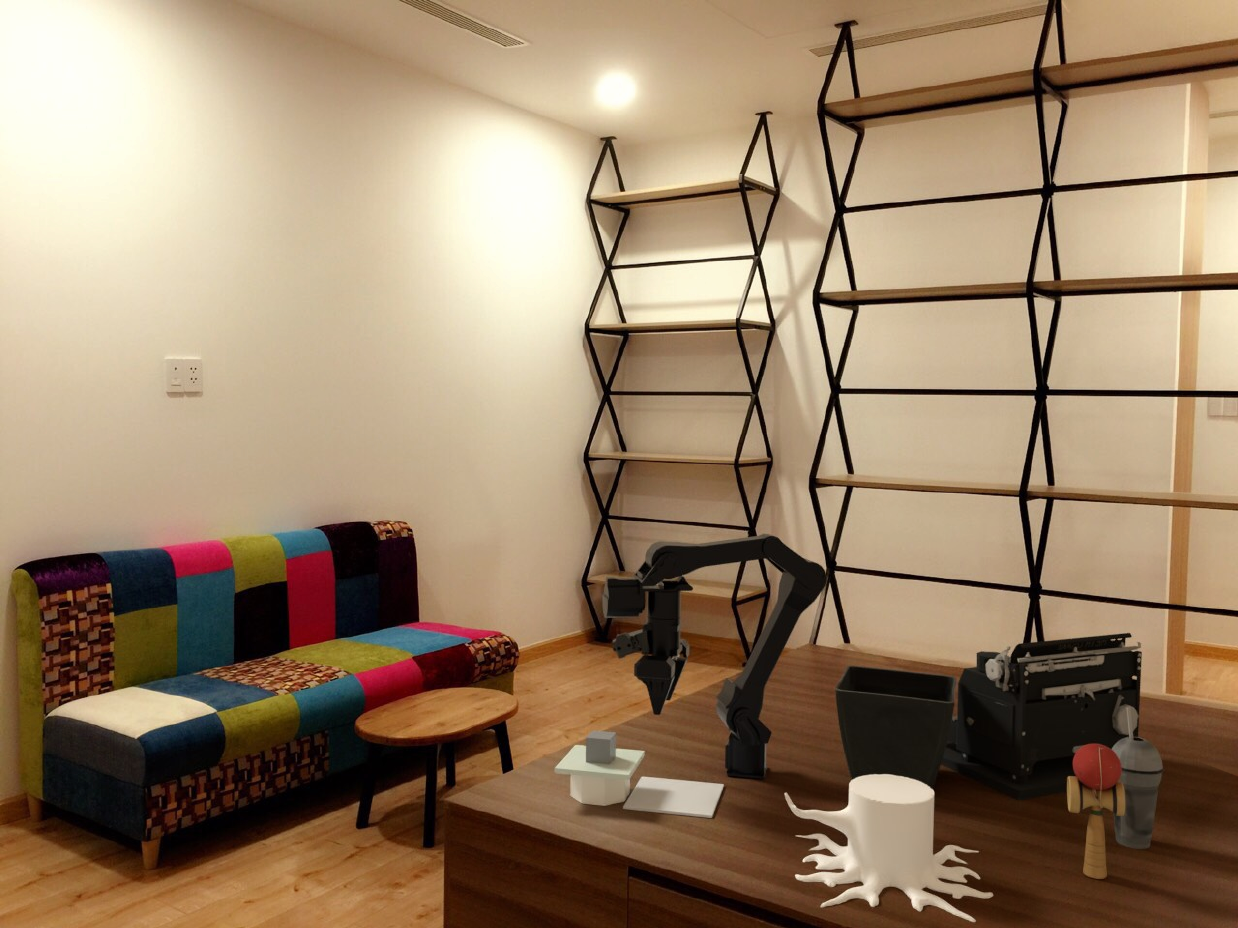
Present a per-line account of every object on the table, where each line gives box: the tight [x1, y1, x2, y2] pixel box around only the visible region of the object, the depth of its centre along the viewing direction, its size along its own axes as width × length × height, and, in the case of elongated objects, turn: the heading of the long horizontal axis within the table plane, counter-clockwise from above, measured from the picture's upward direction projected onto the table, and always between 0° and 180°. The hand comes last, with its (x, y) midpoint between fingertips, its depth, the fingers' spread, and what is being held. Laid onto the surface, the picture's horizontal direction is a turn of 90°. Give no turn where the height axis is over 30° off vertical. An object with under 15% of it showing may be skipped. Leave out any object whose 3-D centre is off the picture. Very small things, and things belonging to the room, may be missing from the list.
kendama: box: [1066, 744, 1125, 880], centre depth 137 cm, size 8×6×18 cm
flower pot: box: [835, 665, 957, 789], centre depth 175 cm, size 19×19×17 cm
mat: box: [622, 776, 725, 819], centre depth 165 cm, size 14×14×1 cm
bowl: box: [569, 775, 631, 807], centre depth 165 cm, size 9×9×5 cm
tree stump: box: [784, 774, 994, 923], centre depth 140 cm, size 28×28×11 cm
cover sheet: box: [554, 729, 645, 780], centre depth 165 cm, size 12×12×5 cm
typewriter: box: [941, 632, 1143, 801], centre depth 183 cm, size 31×27×25 cm
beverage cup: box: [1112, 707, 1165, 850], centre depth 148 cm, size 7×7×20 cm
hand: (662, 707), depth 174 cm, fingers open, 9 cm apart
